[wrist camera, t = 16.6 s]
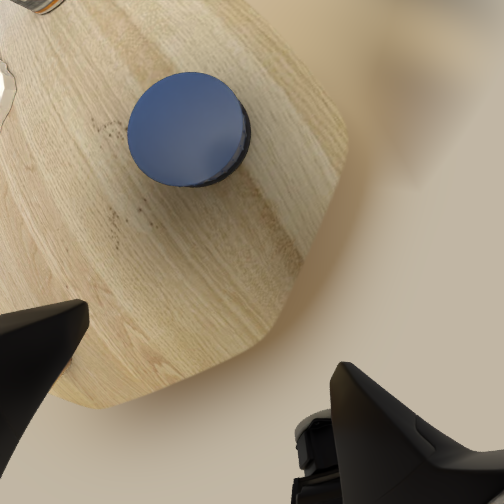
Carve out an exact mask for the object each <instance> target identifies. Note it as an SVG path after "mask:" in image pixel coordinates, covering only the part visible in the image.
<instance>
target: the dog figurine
mask: <svg viewBox="0 0 504 504" xmlns="http://www.w3.org/2000/svg"><path fill="white" fill-rule="evenodd" d="M15 93H16V86H15V80H14V77H13V76H12V74H11V73H10V72H9V71H8V70H7V64H6V63H3V62H2V61H1V60H0V131H1V127H2V123H3V121H4V119H5V118H6V116H7V114H8V112H9V111H10V109H11V105H12V102H13V99H14V96H15Z"/></svg>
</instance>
